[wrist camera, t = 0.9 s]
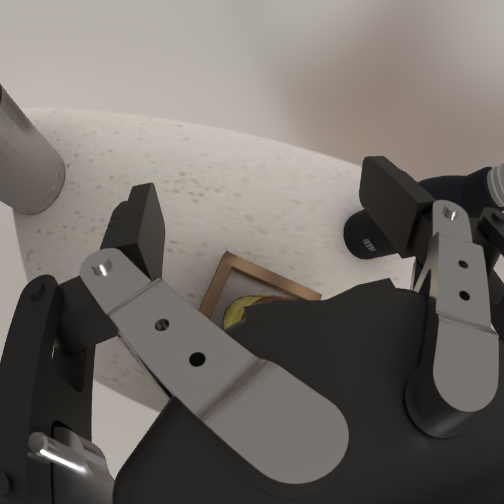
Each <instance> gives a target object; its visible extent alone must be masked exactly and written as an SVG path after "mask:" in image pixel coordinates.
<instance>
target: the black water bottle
mask: <svg viewBox="0 0 504 504" xmlns="http://www.w3.org/2000/svg"><path fill="white" fill-rule="evenodd" d="M418 184H420V186H422V187H423V188H424V189H425V190H426V191H427V192H428V193H429V194H430V195H432V196H433V197H434V198H435V199H436V200H446V201H450V202H453V203H455V204H457V205H459V206H460V207H462V208H463V209H464V210H465V211H466V213H467V214H468V217H469V218H476V219H480V217H481V214H482V211H483V209H484V208H486V207H490V208H494V209H497V210H499V211H501V212H502V211H504V164H499V165H498V166H494V167H493V168H492V167H485V168H483V169H481V170H478V171H476V172H474V173H472V174H469V175H467V176H440V177H434V178H429V179H425V180H422V181H420V182H418ZM344 239H345V243H346V245H347V247H348V249H349V251H350V252H351V253H352V254H353V255H354V256H356V257H358V258H360V259H372V258H377V257H382V256H386V255H391V254H396V253H398V252H397V251H396V250H395V248H394V247H393V245H392V244H391V243H390V241H389V240H388V239H387V237H386V236H385V235H384V233H383V232H382V231H381V229H380V228H379V227H378V225H377V224H376V223H375V222H374V220H373V219H372V218H371V216H370V215H369V214H368V213H367V211H366V210H365V209H364V210H362V211H360V212H357V213H355V214H354V215H352V216H351V217H350V218H349V219H348V220H347V222H346V224H345V228H344Z"/></svg>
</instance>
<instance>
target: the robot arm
mask: <svg viewBox="0 0 504 504" xmlns="http://www.w3.org/2000/svg"><path fill="white" fill-rule="evenodd" d="M64 176H65V169H64V164H63V161H62V159H61V157H60V156H59V155H58V153H57V152H56V151H55V150H54V149H53V148H52V147H51V145H50V144H49V143H48V142H47V141H46V139H45V138H44V137H43V136H42V135H41V134H40V132H39V131H38V130H37V129H36V128H35V126H34V125H33V124H32V123H31V122H30V120H29V119H28V118H27V117H26V116H25V114H24V113H23V112H22V111H21V109H20V108H19V107H18V106H17V104H16V103H15V102H14V101H13V100H12V98H11V97H10V96H9V95H8V93H7V92H6V91H5V89H4V88H3V87H2V85H1V84H0V201H1V202H3V203H5V204H7V205H8V206H10V207H12V208H14V209H16V210H18V211H20V212H22V213H25V214H36V213H39V212H41V211H43V210H45V209H46V208H47V207H49V206H50V205H51V204H52V203H53V201H54V200H55V199H56V198H57V196H58V194H59V193H60V190H61V188H62V186H63V182H64ZM359 198H360V202H361V204H362V206H363V208H364V209H365V210H366V211H367V213H368V214H369V215H370V216H371V218H372V219H373V220H374V222H375V223H376V224H377V225H378V227H379V228H380V229H381V231H382V232H383V233H384V235H385V236H386V237H387V239H388V240H389V241H390V243H391V244H392V245H393V247H394V248H395V250H396V251H397V252H398V254H399V255H400V256H401V258H402V259H403V258H408V257H413V256H415V257H416V259H415V262H414V264H413V271H412V278H411V284H410V290H408V289H400V288H395V286H394V285H393V283H392V281H391V280H390V278H387V279H383V280H378V281H374V282H369V283H365V284H360V285H357V286H355V287H353V288H351V289H349V290H347V291H345V292H343V293H340V294H338V295H336V296H334V297H332V298H330V299H327V300H280V301H274V302H268V303H263V304H257V305H251V306H245V307H244V313H245V319H243V320H240V321H238V322H236V323H234V324H232V325H231V326H229V327H227V328H226V329H225V330H223V331H222V330H221V329H220V328H219V327H217V326H216V325H215V324H214V323H213V322H211V321H210V320H209V319H208V318H206V317H205V316H204V315H203V314H202V313H200V312H199V311H198V310H197V309H196V308H194V307H193V306H192V305H191V304H190V303H189V302H187V301H186V300H185V299H184V298H183V297H182V296H180V295H179V294H178V293H177V292H176V291H175V290H173V289H172V288H171V287H170V286H169V285H168V284H167V283H166V282H164V281H163V280H162V279H161V278H162V265H163V253H164V242H165V224H164V219H163V215H162V212H161V208H160V204H159V201H158V197H157V193H156V189H155V186H154V184H153V183H147V184H142V185H137V186H133V187H132V190H131V192H130V195H129V198H128V201H124V202H121V203H120V204H119V205H118V206H117V207H116V208H115V210H114V211H113V213H112V216H111V219H110V221H109V224H108V229H107V230H106V233H105V235H104V238H103V241H102V244H101V247H100V250H99V251H97V252H95V253H93V254H92V255H90V256H89V257H88V258H87V259H86V260H85V261H84V262H83V264H82V266H81V268H80V275H79V276H77V277H75V278H73V279H71V280H69V281H66V282H64V283H62V284H60V285H59V284H58V283H57V281H56V280H55V278H54V277H53V276H51V275H41V276H39V277H36V278H35V279H33V280H32V281H31V282H29V283H28V284H27V285H26V287H25V288H24V289H23V291H22V293H21V295H20V298H19V301H18V304H17V306H16V310H15V312H14V316H13V319H12V322H11V325H10V328H9V332H8V335H7V339H6V342H5V346H4V350H3V354H2V358H1V362H0V504H504V283H503V282H502V281H501V279H500V278H499V277H498V275H497V274H496V272H495V271H494V269H493V268H494V266H495V264H496V262H497V260H498V258H499V256H500V254H502V255H503V256H504V213H502V212H501V211H499V210H497V209H494V208H490V207H486V208H484V209H483V211H482V214H481V217H480V219H476V218H469V217H468V214H467V213H466V211H465V210H464V209H463V208H462V207H460V206H459V205H457V204H455V203H453V202H450V201H446V200H436V199H435V198H434V197H433V196H432V195H430V194H429V193H428V192H427V191H426V190H425V189H424V188H423V187H422V186H420V184H418V183H417V182H416V181H415V180H413V178H412V177H411V176H409V175H408V174H407V173H406V172H404V171H402V170H400V169H399V168H397V167H396V166H395V165H394V164H393V163H392V162H390V161H389V160H388V159H386V158H385V157H384V156H369V157H365V158H364V160H363V165H362V173H361V181H360V189H359ZM491 324H492V325H493V327H494V329H495V331H496V332H497V333H496V332H495V331H493V330H492V328H491ZM497 334H498V335H497ZM115 336H118V338H119V339H120V340H121V342H122V343H123V344H124V345H125V347H126V348H127V349H128V351H129V352H130V353H131V354H132V356H133V357H134V358H135V359H136V361H137V362H138V363H139V364H140V365H141V367H142V368H143V369H144V370H145V371H146V373H147V374H148V375H149V376H150V378H151V379H152V380H153V381H154V382H155V384H156V385H157V386H158V387H159V388H160V390H161V391H162V392H163V393H164V394H165V395H166V396H167V398H168V399H169V401H168V403H167V404H166V406H165V407H164V409H163V410H162V411H161V413H160V414H159V416H158V417H157V418H156V420H155V421H154V423H153V424H152V426H151V427H150V428H149V430H148V431H147V433H146V434H145V436H144V437H143V438H142V440H141V441H140V442H139V444H138V445H137V447H136V448H135V449H134V451H133V452H132V454H131V455H130V456H129V458H128V459H127V461H126V462H125V463H124V465H123V466H122V468H121V469H120V471H119V472H118V474H117V477H116V479H115V480H114V479H113V478H112V476H111V475H110V473H109V470H108V467H107V463H106V459H105V456H104V454H103V452H102V451H101V450H100V448H98V447H97V446H96V445H95V444H93V443H92V436H91V416H92V414H91V413H92V411H91V409H92V385H93V369H94V356H95V346H96V344H98V343H101V342H103V341H106V340H108V339H110V338H113V337H115ZM498 336H499V337H498ZM54 346H55V347H54ZM53 347H54V352H53ZM52 353H53V358H52Z"/></svg>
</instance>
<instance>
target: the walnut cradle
mask: <svg viewBox="0 0 504 504" xmlns="http://www.w3.org/2000/svg"><path fill="white" fill-rule="evenodd" d="M231 269H232V270H234V271H237V272H239V273H241V274H243V275H245V276H248V277H250V278H252V279H254V280H257V281H259V282H261V283H263V284H265V285H268V286H270V287H272V288H274V289H277V290H279V291H281V292H283V293H286V294H288V295H290V296H293V297H295V298H297V299H299V300H320V299H321V296H322V294H320V293H317V292H315V291H313V290H311V289H309V288H306V287H304V286H302V285H300V284H298V283H295V282H293V281H291V280H289V279H287V278H284V277H282V276H280V275H278V274H276V273H273V272H271V271H269V270H267V269H265V268H262V267H260V266H258V265H256V264H254V263H252V262H249V261H247V260H245V259H243V258H241V257H239V256H236V255H234V254H232V253H230V252H228V251H226V252H225V254H224V255H223V257H222V260H221V262H220V264H219V266H218V269H217V271H216V273H215V275H214V278H213V280H212V282H211V284H210V287H209V289H208V291H207V293H206V296H205V298H204V300H203V302H202V305H201V307H200V309H199V312H200V313H202V314H203V315H204V316H205V317H206V318H208V319H209V318H210V316H211V313H212V311H213V309H214V306H215V304H216V302H217V300H218V297H219V295H220V293H221V290H222V288H223V286H224V284H225V281H226V279H227V277H228V275H229V272H230V270H231Z"/></svg>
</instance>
